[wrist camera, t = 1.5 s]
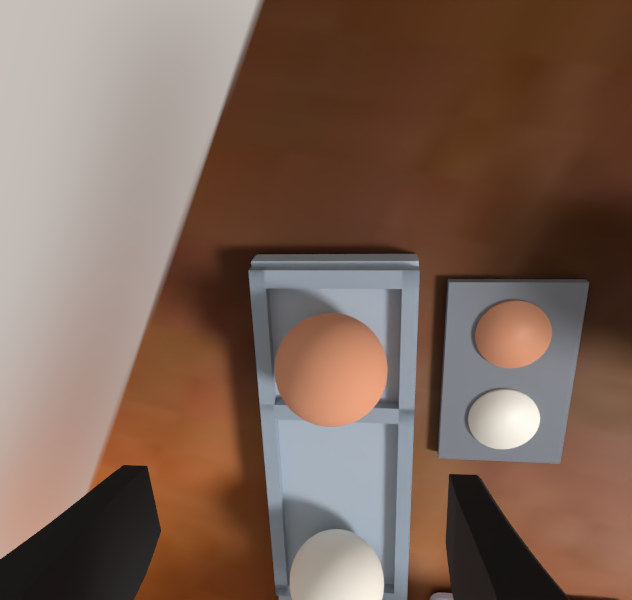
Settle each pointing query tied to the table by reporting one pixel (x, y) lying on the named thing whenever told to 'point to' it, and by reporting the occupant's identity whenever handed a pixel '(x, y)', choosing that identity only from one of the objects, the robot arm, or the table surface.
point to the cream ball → (336, 568)
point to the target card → (509, 367)
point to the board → (349, 440)
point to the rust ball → (331, 369)
